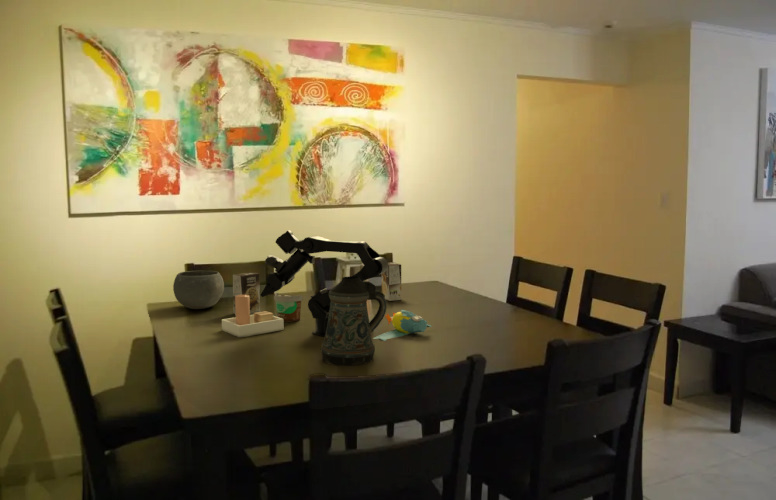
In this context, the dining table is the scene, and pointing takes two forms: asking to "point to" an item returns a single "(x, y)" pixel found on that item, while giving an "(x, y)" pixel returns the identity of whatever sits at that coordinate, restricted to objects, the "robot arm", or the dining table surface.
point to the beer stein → (351, 323)
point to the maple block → (263, 316)
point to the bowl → (198, 288)
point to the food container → (288, 307)
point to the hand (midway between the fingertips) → (265, 293)
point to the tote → (252, 326)
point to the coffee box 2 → (392, 282)
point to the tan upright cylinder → (242, 309)
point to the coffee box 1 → (247, 289)
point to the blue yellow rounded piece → (404, 325)
